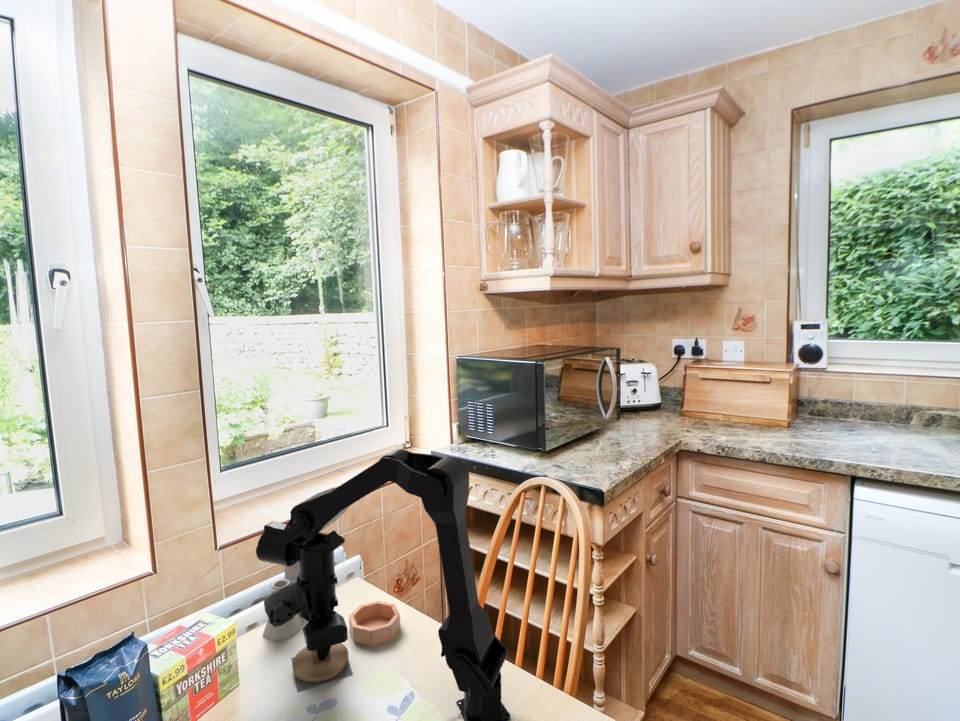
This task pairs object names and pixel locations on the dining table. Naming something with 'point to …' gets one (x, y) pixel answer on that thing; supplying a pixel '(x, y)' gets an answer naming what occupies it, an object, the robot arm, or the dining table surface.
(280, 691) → the dining table surface
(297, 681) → the mat
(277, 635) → the flask
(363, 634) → the bowl
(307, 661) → the lid
